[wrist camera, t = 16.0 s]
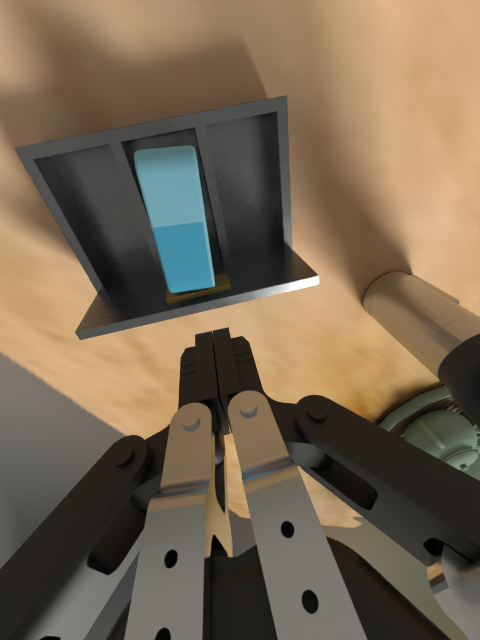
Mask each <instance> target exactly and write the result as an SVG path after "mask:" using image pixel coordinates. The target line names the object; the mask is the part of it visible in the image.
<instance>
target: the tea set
mask: <svg viewBox="0 0 480 640" xmlns="http://www.w3.org/2000/svg"><path fill="white" fill-rule="evenodd" d="M378 426H379V427H381V428H383V429H385V430H387V431H389V432H390V433H392V434H394V435H396V436H398V437H400V438H401V439H403V440H405V441H407V442H409V443H411V444H412V445H414V446H416V447H418V448H420V449H422V450H423V451H425V452H427V453H429V454H431V455H433V456H434V457H436V458H438V459H440V460H442V461H444V462H445V463H447V464H449V465H451V466H453V467H455V468H456V469H458V470H460V469H461V470H463V471H465V470H467V469H468V467H469V465H470V464H472V463H473V462H474V461H475V460H476V459H477V454H478V453H479V452H480V448H479V447H480V429H479V428H478V427H477V426H476V425H475V424H474V423H473V422H472V421H471V420H470V419H469V418H468V416H467V415H466V414H465V413H464V412H463V411H462V410H461V409H460V408H459V407H458V405H457V404H456V403H455V401H454V400H453V398H452V396H451V393H450V391H449V389H448V388H447V387H446V385H444V386H442V387H439V388H436V389H434V390H431V391H428V392H425V393H423V394H420V395H418V396H416V397H414V398H413V399H411V400H410V401H408V402H407V403H405V404H403V405H402V406H400V407H399V408H397V409H396V410H394V411H393V412H391V413H389V414H388V415H387V416H386V418H385V419H384V420H383V421H382V422H381V423H380V424H379V425H378Z"/></svg>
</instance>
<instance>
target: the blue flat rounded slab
mask: <svg viewBox="0 0 480 640" xmlns="http://www.w3.org/2000/svg"><path fill="white" fill-rule="evenodd" d="M134 162H135V168H136V173H137V177H138V180H139V184H140V188H141V192H142V195H143V199H144V203H145V206H146V210H147V214H148V217H149V221H150V225H151V228H152V232H153V236H154V239H155V243H156V247H157V250H158V254H159V258H160V261H161V265H162V269H163V272H164V276H165V280H166V283H167V286H168V289H169V291H170V292H171V293H176V292H183V291H190V290H196V289H203V288H210V287H214V286H215V280H214V273H213V266H212V259H211V252H210V245H209V238H208V231H207V225H206V218H205V211H204V204H203V197H202V190H201V183H200V177H199V170H198V163H197V157H196V152H195V148H194V147H193V146H191V145H183V146H172V147H161V148H150V149H144V150H137V151H136V152H135V154H134Z"/></svg>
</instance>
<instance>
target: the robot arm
mask: <svg viewBox="0 0 480 640" xmlns="http://www.w3.org/2000/svg"><path fill="white" fill-rule="evenodd" d="M363 307H364V309H365V311H366V312H367V313H368V314H369V315H370V316H372V317H373V318H374V319H375V320H376V321H377V322H378V323H379V324H380V325H381V326H382V327H383V328H384V329H385V330H386V331H387V332H389V333H390V334H391V335H392V336H393V337H394V338H395V339H396V340H397V341H398V342H399V343H400V344H401V345H403V346H404V347H405V348H406V349H407V350H408V351H409V352H410V353H411V354H412V355H413V356H414V357H415V358H416V359H418V360H419V361H420V362H421V363H422V364H423V365H424V366H425V367H426V368H427V369H428V370H430V371H431V372H432V373H433V374H434V375H435V376H436V377H437V378H438V379H439V380H440V381H441V382H442V383H443V384H445V385H446V387H447V388H448V389H449V391H450V393H451V396H452V398H453V400H454V401H455V403H456V404H457V405H458V407H459V408H460V409H461V410H462V411H463V412H464V413H465V414H466V415H467V416H468V418H469V419H470V420H471V421H472V422H473V423H474V424H475V425H476V426H477V427H478V428H479V429H480V317H478V316H477V315H475V314H473V313H472V312H470V311H468V310H467V309H465V308H463V307H462V306H460V305H459V301H458V300H457V299H456V298H454V297H452V296H451V295H449V294H447V293H445V292H444V291H442V290H440V289H438V288H437V287H435V286H433V285H431V284H430V283H428V282H426V281H424V280H423V279H421V278H419V277H417V276H416V275H414V274H412V275H407V274H406V273H404V272H400V271H394V272H390V273H387V274H385V275H383V276H381V277H380V278H378V279H377V280H376V281H374V282H373V283H372V284H371V286H370V287H369V288H368V290H367V291H366V293H365V295H364V299H363ZM180 368H181V369H180V384H179V405H178V411H177V412H176V413H175V414H174V416H173V417H172V419H171V423H170V424H169V425H168V426H167V427H166V428H165V429H163V430H162V431H160V432H158V433H156V434H154V435H153V436H151V437H149V438H147V439H145V440H144V439H143V438H142V437H140V436H137V435H130V436H126V437H124V438H122V439H120V440H118V441H117V442H115V443H114V444H113V445H112V446H111V447H110V448H109V449H108V450H107V451H106V452H105V454H104V455H103V456H102V457H101V458H100V459H99V460H98V461H97V462H96V464H95V465H94V466H93V467H92V468H91V469H90V470H89V471H88V473H87V474H86V475H85V476H84V477H83V478H82V479H81V480H80V481H79V482H78V484H77V485H76V486H75V487H74V488H73V489H72V490H71V491H70V492H69V494H68V495H67V496H66V497H65V498H64V499H63V500H62V501H61V502H60V503H59V505H58V506H57V507H56V508H55V509H54V510H53V511H52V512H51V514H50V515H49V516H48V517H47V518H46V519H45V520H44V521H43V522H42V523H41V525H40V526H39V527H38V528H37V529H36V530H35V531H34V532H33V534H32V535H31V536H30V537H29V538H28V539H27V540H26V541H25V542H24V543H23V545H22V546H21V547H20V548H19V549H18V550H17V551H16V552H15V553H14V555H13V556H12V557H11V558H10V559H9V560H8V561H7V562H6V564H5V565H4V566H3V567H2V568H1V569H0V640H83V639H84V637H85V636H86V634H87V633H88V631H89V629H90V628H91V626H92V624H93V623H94V621H95V620H96V618H97V617H98V615H99V613H100V612H101V610H102V609H103V607H104V606H105V604H106V602H107V600H108V599H109V597H110V596H111V594H112V593H113V591H114V590H115V588H116V586H117V585H118V583H119V581H120V580H121V578H122V576H123V575H124V574H125V572H126V571H127V569H128V567H129V566H130V564H131V563H132V561H133V559H134V558H135V556H136V555H137V553H138V551H139V550H140V554H139V560H138V565H137V571H136V577H135V582H134V588H133V593H132V599H131V600H130V602H129V603H128V604H127V605H126V607H125V608H124V609H123V611H122V612H121V614H120V615H119V617H118V618H117V620H116V622H115V623H114V625H113V627H112V628H111V631H110V632H109V634H108V636H107V637H106V639H105V640H451V639H450V638H448V636H447V635H446V634H444V633H443V632H442V631H441V630H440V629H439V628H438V627H437V626H436V625H435V624H434V623H433V622H432V621H430V620H429V619H428V618H427V617H426V616H425V615H424V614H423V613H422V612H421V611H420V610H419V609H417V608H416V607H415V606H414V605H413V604H412V603H411V602H410V601H409V600H408V599H407V598H406V597H405V596H404V595H402V594H401V593H400V592H399V591H398V590H397V589H396V588H395V587H394V586H393V585H392V584H390V583H389V582H388V581H387V580H386V579H385V578H384V577H383V576H382V575H381V574H380V573H379V572H378V571H377V570H376V569H374V568H373V567H372V566H371V565H370V564H369V563H368V562H367V561H366V560H365V559H363V558H362V557H361V556H360V555H359V554H358V553H356V552H355V551H354V550H352V549H351V548H349V547H348V546H346V545H344V544H343V543H341V542H339V541H337V540H334V539H332V538H330V537H326V536H325V534H324V531H323V529H322V526H321V524H320V521H319V519H318V516H317V514H316V511H315V509H314V507H313V504H312V502H311V499H310V497H309V494H308V492H307V489H306V487H305V484H304V482H303V479H302V477H301V474H300V472H299V470H298V468H297V466H300V467H301V468H302V469H303V470H304V471H305V472H306V473H308V474H309V475H310V476H311V477H313V478H314V479H315V480H317V481H318V482H319V483H320V484H322V485H323V486H324V487H326V488H327V489H328V490H329V491H331V492H332V493H333V494H334V495H336V496H337V497H338V498H340V499H341V500H342V501H343V502H345V503H346V504H347V505H349V506H350V507H351V508H352V509H354V510H355V511H356V512H358V513H359V514H360V515H361V516H363V517H364V518H365V519H367V520H368V521H369V522H370V523H372V524H373V525H374V526H376V527H377V528H378V529H379V530H381V531H382V532H384V533H385V534H386V535H387V536H388V537H390V538H391V539H392V540H394V541H395V542H396V543H397V544H399V545H400V546H401V547H403V548H404V549H405V550H406V551H408V552H409V553H410V554H412V555H413V556H414V557H415V558H417V559H418V560H419V561H421V562H422V563H423V564H425V565H426V566H427V567H428V569H427V570H428V571H427V572H428V579H429V584H430V587H431V590H432V592H433V594H434V596H435V598H436V600H437V602H438V603H439V605H440V606H441V608H442V609H443V611H444V612H445V613H446V614H447V616H448V617H449V618H451V620H452V621H453V622H454V623H455V624H456V625H457V626H458V627H459V628H460V629H461V630H462V631H463V632H464V634H465V635H466V636H467V637H468V639H469V640H480V481H479V480H477V479H475V478H473V477H471V476H469V475H468V474H466V473H464V472H462V471H460V470H458V469H456V468H455V467H453V466H451V465H449V464H447V463H445V462H444V461H442V460H440V459H438V458H436V457H434V456H433V455H431V454H429V453H427V452H425V451H423V450H422V449H420V448H418V447H416V446H414V445H412V444H411V443H409V442H407V441H405V440H403V439H401V438H400V437H398V436H396V435H394V434H392V433H390V432H389V431H387V430H385V429H383V428H381V427H379V426H378V425H376V424H374V423H372V422H370V421H368V420H367V419H365V418H363V417H361V416H359V415H357V414H356V413H354V412H352V411H350V410H348V409H346V408H345V407H343V406H341V405H339V404H337V403H335V402H334V401H332V400H330V399H328V398H326V397H323V396H319V395H309V396H306V397H304V398H302V399H301V400H299V402H298V403H297V404H292V403H282V402H277V401H275V400H273V399H271V398H270V397H268V396H267V395H266V394H265V392H264V391H263V388H262V385H261V381H260V378H259V375H258V371H257V368H256V364H255V361H254V357H253V354H252V351H251V347H250V344H249V342H248V341H247V340H246V339H245V338H244V337H243V336H240V337H236V338H231V337H230V332H229V327H228V328H223V329H219V330H214V331H213V334H212V331H210V332H205V333H200V334H196V335H195V346H194V347H189V348H186V349H185V351H184V353H183V354H182V356H181V362H180ZM229 427H230V430H231V433H233V437H234V442H235V446H236V451H237V455H238V459H239V464H240V468H241V473H242V480H243V485H244V490H245V494H246V499H247V503H248V508H249V512H250V517H251V521H252V525H253V530H254V534H255V539H256V543H257V545H255V546H253V547H252V548H250V549H249V550H247V551H246V552H244V553H243V554H241V555H239V556H238V557H233V554H232V537H231V529H230V523H229V517H228V496H227V470H226V454H225V443H224V435H227V434H230V432H229ZM140 548H141V549H140ZM177 557H178V558H177Z"/></svg>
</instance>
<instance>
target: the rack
mask: <svg viewBox="0 0 480 640" xmlns="http://www.w3.org/2000/svg"><path fill="white" fill-rule="evenodd" d="M183 145H191V146H193V147H194V148H195V152H196V157H197V163H198V170H199V177H200V183H201V190H202V197H203V204H204V211H205V218H206V225H207V231H208V238H209V245H210V252H211V259H212V266H213V273H214V280H215V286H214V287H210V288H203V289H196V290H190V291H183V292H176V293H171V292H170V291H169V289H168V286H167V283H166V280H165V276H164V272H163V269H162V265H161V261H160V258H159V254H158V250H157V247H156V243H155V239H154V236H153V232H152V228H151V225H150V221H149V217H148V214H147V210H146V206H145V203H144V199H143V195H142V192H141V188H140V184H139V180H138V177H137V173H136V168H135V162H134V154H135V152H136V151H137V150H144V149H150V148H161V147H172V146H183ZM14 149H15V150H16V152H17V154H18V156H19V157H20V159H21V161H22V163H23V164H24V166H25V168H26V170H27V171H28V173H29V175H30V176H31V178H32V180H33V182H34V183H35V185H36V187H37V189H38V190H39V192H40V194H41V196H42V197H43V199H44V201H45V202H46V204H47V206H48V208H49V209H50V211H51V213H52V215H53V216H54V218H55V220H56V222H57V223H58V225H59V227H60V228H61V230H62V232H63V234H64V235H65V237H66V239H67V241H68V242H69V244H70V246H71V248H72V249H73V251H74V253H75V255H76V256H77V258H78V260H79V261H80V263H81V265H82V267H83V268H84V270H85V272H86V274H87V275H88V277H89V279H90V281H91V282H92V284H93V286H94V287H95V289H96V291H97V293H98V294H97V295H96V297H95V299H94V301H93V302H92V304H91V306H90V307H89V309H88V311H87V313H86V314H85V316H84V318H83V319H82V321H81V323H80V325H79V326H78V328H77V330H76V331H75V333H76V335H77V336H78V337H79V339H80V340H83V339H87V338H91V337H96V336H100V335H104V334H108V333H113V332H117V331H121V330H126V329H130V328H134V327H138V326H143V325H147V324H151V323H155V322H160V321H164V320H168V319H173V318H177V317H181V316H185V315H190V314H194V313H198V312H202V311H207V310H211V309H215V308H220V307H224V306H228V305H232V304H237V303H241V302H245V301H250V300H254V299H258V298H262V297H267V296H271V295H275V294H279V293H284V292H288V291H292V290H297V289H301V288H305V287H309V286H314V285H318V284H319V275H318V274H317V273H316V272H315V271H314V270H313V269H312V268H311V267H310V266H309V265H308V264H307V263H306V262H305V261H304V260H302V259H301V258H300V257H299V256H298V255H297V254H296V253H295V252H294V251H293V250H292V228H291V200H290V173H289V145H288V117H287V95H286V96H281V97H276V98H270V99H265V100H260V101H255V102H250V103H245V104H239V105H234V106H229V107H224V108H219V109H214V110H208V111H203V112H198V113H193V114H188V115H183V116H177V117H172V118H167V119H162V120H157V121H152V122H146V123H141V124H136V125H131V126H126V127H121V128H115V129H110V130H105V131H100V132H95V133H90V134H84V135H79V136H74V137H69V138H64V139H59V140H53V141H48V142H43V143H38V144H33V145H28V146H22V147H17V148H14Z"/></svg>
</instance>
